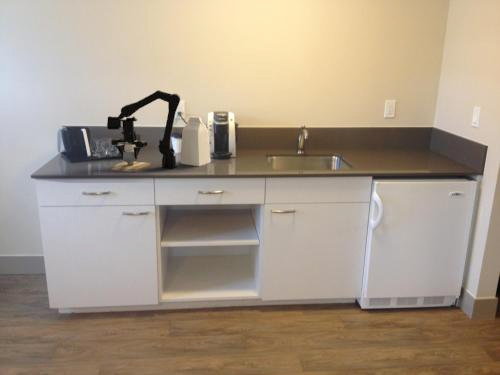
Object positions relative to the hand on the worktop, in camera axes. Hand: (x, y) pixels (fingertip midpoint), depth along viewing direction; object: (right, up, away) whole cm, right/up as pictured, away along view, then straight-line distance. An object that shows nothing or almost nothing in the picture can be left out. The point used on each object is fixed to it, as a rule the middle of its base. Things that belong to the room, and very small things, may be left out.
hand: (130, 158), depth 243 cm
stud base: (0, -5, +1) cm, 5 cm away
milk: (+34, -2, +15) cm, 37 cm away
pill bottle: (-6, +2, +25) cm, 26 cm away
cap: (0, -1, 0) cm, 1 cm away
